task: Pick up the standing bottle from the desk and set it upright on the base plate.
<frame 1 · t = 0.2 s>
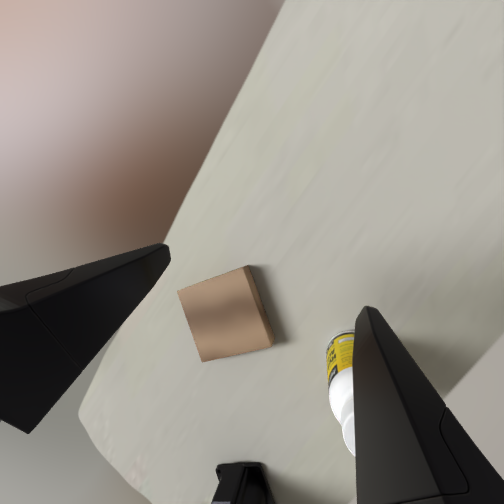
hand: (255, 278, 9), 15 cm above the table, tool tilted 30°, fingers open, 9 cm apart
supplement bottle: (352, 353, 22), on the table
base plate: (228, 311, 26), on the table
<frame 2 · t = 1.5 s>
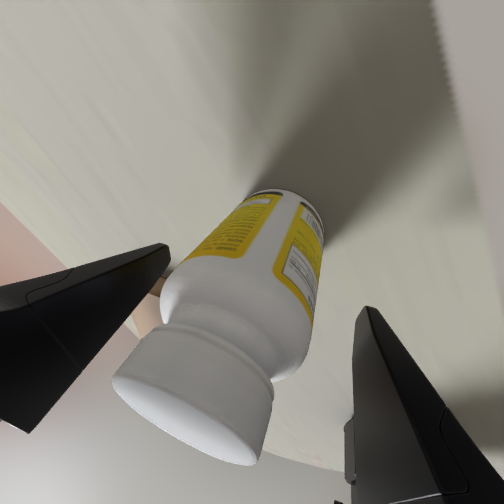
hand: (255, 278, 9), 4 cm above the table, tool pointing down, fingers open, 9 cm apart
supplement bottle: (278, 230, 13), on the table
base plate: (182, 314, 21), on the table
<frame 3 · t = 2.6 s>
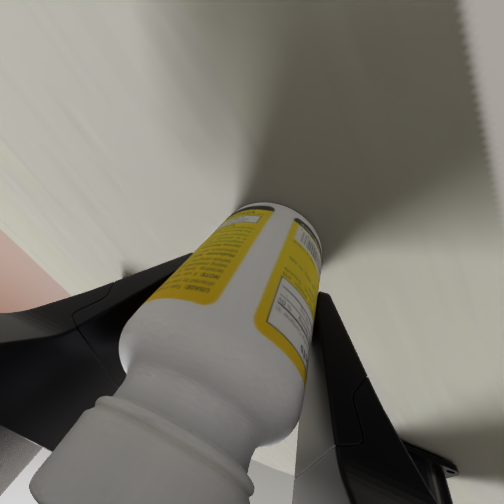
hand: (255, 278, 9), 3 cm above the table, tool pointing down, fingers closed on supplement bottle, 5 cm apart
supplement bottle: (271, 246, 11), on the table, touching gripper
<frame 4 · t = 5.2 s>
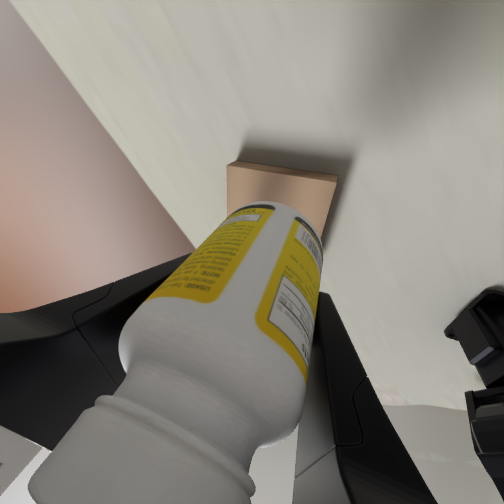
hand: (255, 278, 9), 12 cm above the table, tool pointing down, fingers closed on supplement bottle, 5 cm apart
supplement bottle: (271, 245, 11), point 10 cm above the table, touching gripper
base plate: (277, 214, 21), on the table
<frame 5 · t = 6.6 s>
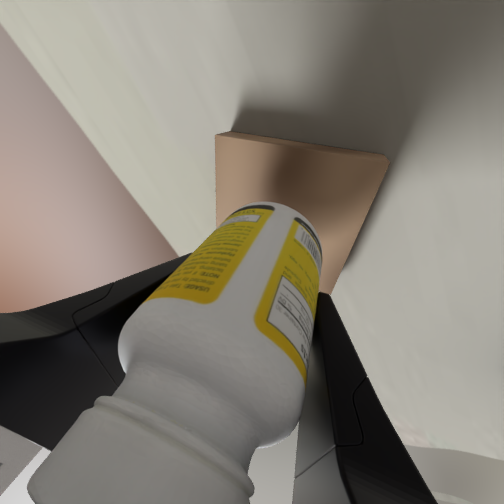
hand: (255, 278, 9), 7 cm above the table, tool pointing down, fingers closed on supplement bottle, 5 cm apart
supplement bottle: (271, 246, 11), point 5 cm above the table, touching gripper
base plate: (286, 212, 15), on the table
when the fingers open (6 cm above the table, at t = 7.8 s): supplement bottle drops 1 cm, resting on base plate.
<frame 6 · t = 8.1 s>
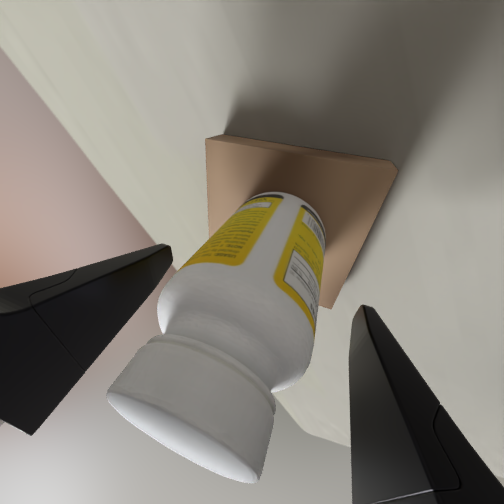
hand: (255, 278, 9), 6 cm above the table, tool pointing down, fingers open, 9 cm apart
supplement bottle: (279, 233, 13), point 2 cm above the table, touching base plate
base plate: (284, 221, 14), on the table
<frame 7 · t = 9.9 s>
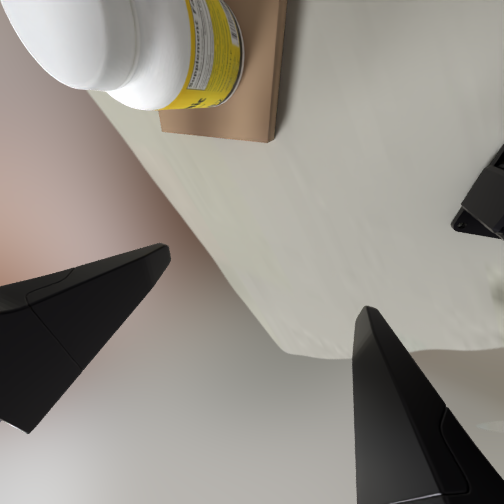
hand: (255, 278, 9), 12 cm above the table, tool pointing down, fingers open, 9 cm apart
supplement bottle: (209, 58, 14), point 2 cm above the table, touching base plate
base plate: (220, 63, 15), on the table
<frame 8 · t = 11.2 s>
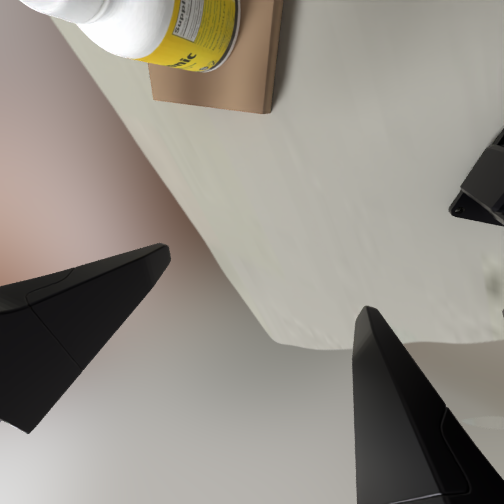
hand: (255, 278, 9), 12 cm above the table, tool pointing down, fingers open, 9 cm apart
supplement bottle: (204, 17, 13), point 2 cm above the table, touching base plate
base plate: (216, 26, 14), on the table
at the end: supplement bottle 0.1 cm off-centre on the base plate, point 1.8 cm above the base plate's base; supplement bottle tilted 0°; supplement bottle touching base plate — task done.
